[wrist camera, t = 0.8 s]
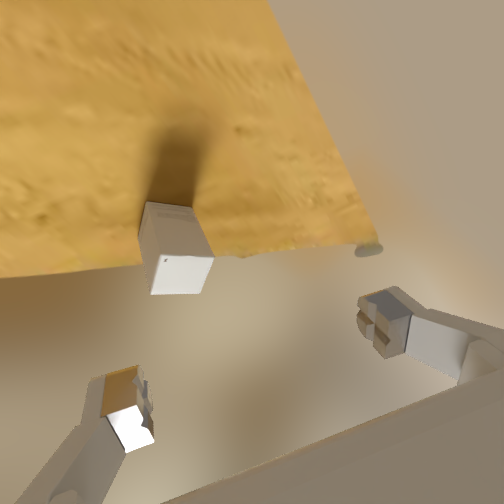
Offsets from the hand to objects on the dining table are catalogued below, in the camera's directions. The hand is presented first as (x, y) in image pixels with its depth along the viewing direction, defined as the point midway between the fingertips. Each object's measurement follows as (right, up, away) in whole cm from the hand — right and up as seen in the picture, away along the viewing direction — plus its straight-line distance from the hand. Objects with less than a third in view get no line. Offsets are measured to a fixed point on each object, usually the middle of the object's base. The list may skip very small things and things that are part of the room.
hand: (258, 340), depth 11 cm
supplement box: (-17, +9, +50) cm, 54 cm away
